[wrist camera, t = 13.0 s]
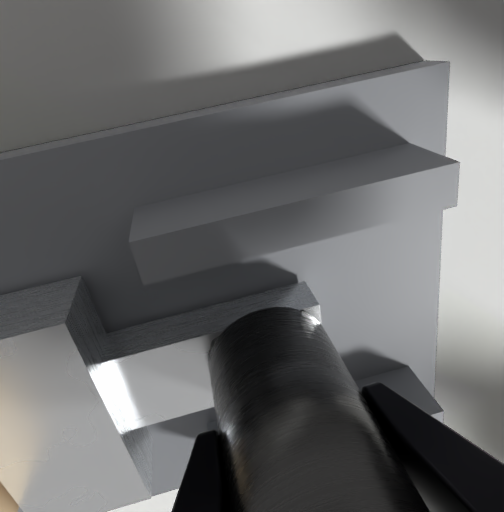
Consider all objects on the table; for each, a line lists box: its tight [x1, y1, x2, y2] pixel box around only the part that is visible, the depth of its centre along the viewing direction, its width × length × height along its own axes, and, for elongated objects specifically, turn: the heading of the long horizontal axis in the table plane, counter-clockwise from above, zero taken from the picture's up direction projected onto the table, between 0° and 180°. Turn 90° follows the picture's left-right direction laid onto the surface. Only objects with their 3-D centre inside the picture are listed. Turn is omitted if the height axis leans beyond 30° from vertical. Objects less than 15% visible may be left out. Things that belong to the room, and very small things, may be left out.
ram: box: [0, 276, 430, 512], centre depth 8 cm, size 9×6×7 cm
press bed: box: [0, 60, 460, 512], centre depth 11 cm, size 22×12×4 cm, turn 100°
